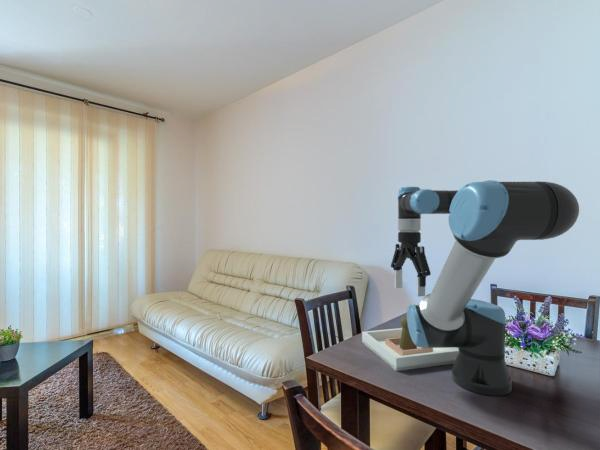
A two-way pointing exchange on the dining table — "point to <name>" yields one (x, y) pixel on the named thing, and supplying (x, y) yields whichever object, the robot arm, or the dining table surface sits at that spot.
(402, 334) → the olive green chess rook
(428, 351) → the walled box
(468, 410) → the dining table surface
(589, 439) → the dining table surface
